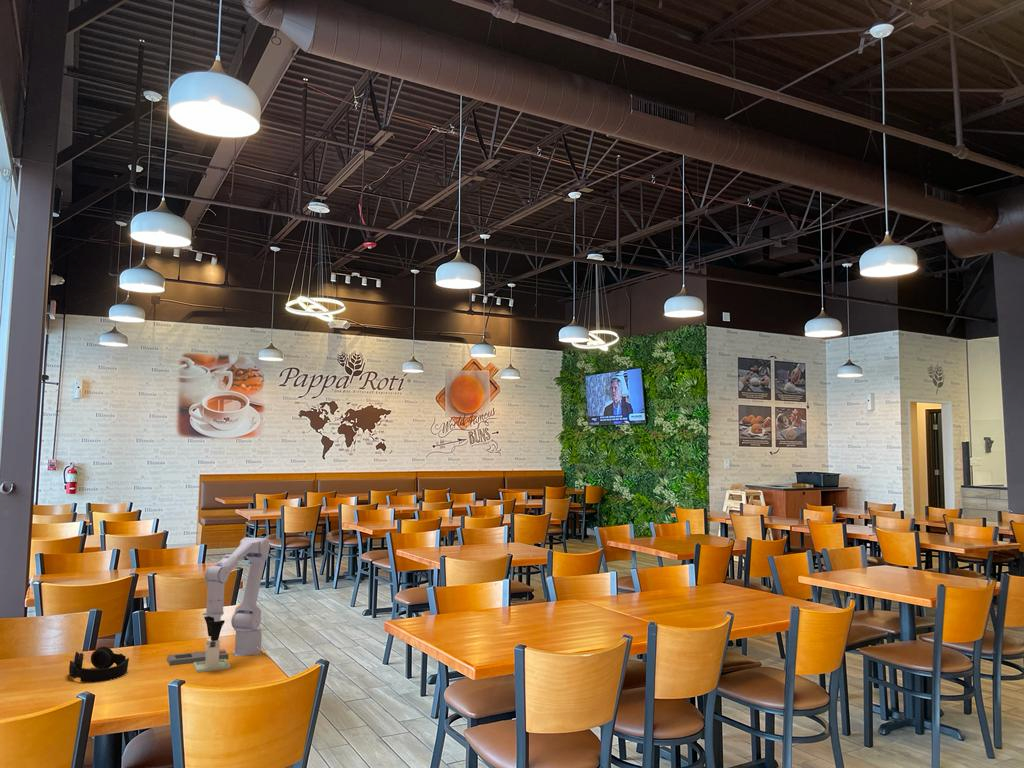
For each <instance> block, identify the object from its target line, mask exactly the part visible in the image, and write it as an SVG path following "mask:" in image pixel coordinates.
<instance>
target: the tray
mask: <svg viewBox="0 0 1024 768" xmlns="http://www.w3.org/2000/svg"><path fill="white" fill-rule="evenodd" d="M227 660H228V659H220V660H219V667H215V668H206V667H205V661H202V662H193V663H192V665H193V667H194V669H195V671H196V673H204V672H212V671H222V670H230V669H231V668H232V667H231V665H230V663H229V662H228V661H227Z"/></svg>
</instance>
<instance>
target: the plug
mask: <svg viewBox="0 0 1024 768" xmlns="http://www.w3.org/2000/svg"><path fill="white" fill-rule="evenodd" d="M220 647H221V646H220V645H219V646H218V645H216V642H215V641H212V642H210V646H206V645H205V651H206V656H205V667H206V668H215V667H219V650H220Z"/></svg>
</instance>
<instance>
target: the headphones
mask: <svg viewBox="0 0 1024 768" xmlns="http://www.w3.org/2000/svg"><path fill="white" fill-rule="evenodd" d="M84 656H85V655H84V653H83V652H77V651H76V652H74V655H73V658H72V659H73V660H69V667H68V672H69V676H70V677H71V678H73V679H76V678H79V681H80V682H82V683H98V682H99V683H100V682H104V681H105V682H106V680H107V681H111V680H110V679H112V680H115V679H118V678H117V677H119V678H121V677H123V676H122V675H124V674H125V673H126V674H127V673H128V666H129V661H130V658H129V657H127V658H126V655H124V654H123V653H114V651H113V650H112V649H111V648H110V647H108V646H100V647H97V648H96V649H95V650H94V651H93V652H92V654H91V656H90V662H91V664H92V666H93V667H95V668H87V667H86V668H85V667H83V662H84ZM114 664H115V666H113V665H114ZM126 674H125V675H126ZM125 675H124V676H125ZM120 676H121V677H120ZM114 678H115V679H114Z"/></svg>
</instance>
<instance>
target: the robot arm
mask: <svg viewBox="0 0 1024 768" xmlns="http://www.w3.org/2000/svg"><path fill="white" fill-rule="evenodd" d="M269 541H270V540H269V539H268V538H267V537H249V536H244V537H243V538H242V539H241V540H240V541H239V546H238V547H236V549H235V550H234V551H233V552H232V553H231V554H225V555H224V556H223V558H221V560H219V561H218V562H217V563H216V564H215V565H210V566H209V567H207V569H206V570H205V574H204V580H205V586H206V587H207V594H206V610H205V612H202V616H203V619H204V620H205V624H206V628H207V630H206V631H207V635H208V638H209V637H210V639H211V640H212V641H218V639H219V640H220V634H221V631H222V628H223V626H224V624H225V619H223V620H221V618H222V616H223V615H224V603H225V602H224V601H225V583H226V582H227V581H228V579H229V575H231V572H233V570H234V569H236V568H237V567H238V565H239V561H240V560H242V559H243V558H244V557H245V558H246V559H247V560H248V561H249V562H250V565H249V566H250V567H249V571H248V575H247V579H246V584H245V589H244V594H243V596H242V597H243V599H242V601H241V603H240V604H239V605H238V606H236V607H235V609H234V613H233V614H232V616H231V619H230V624H231V627H232V628H233V631H234V632H235V637H234V638H235V639H234V650H232V651H231V652H232V654H233V656H234V657H243V656H251V655H252V656H253V655H261V654H262V637H263V636H262V629H261V628H259V627H260V625H261V621H262V617H261V616H262V610H261V608H260V607H259V606H258V605H257V600H258V597H259V591H260V587H261V583H262V579H263V572H264V569H265V563H266V561H267V560H268V559H269V553H270V547H271V544H270V542H269ZM257 647H258V648H259V649H260V650H259V649H258V648H257Z"/></svg>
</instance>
